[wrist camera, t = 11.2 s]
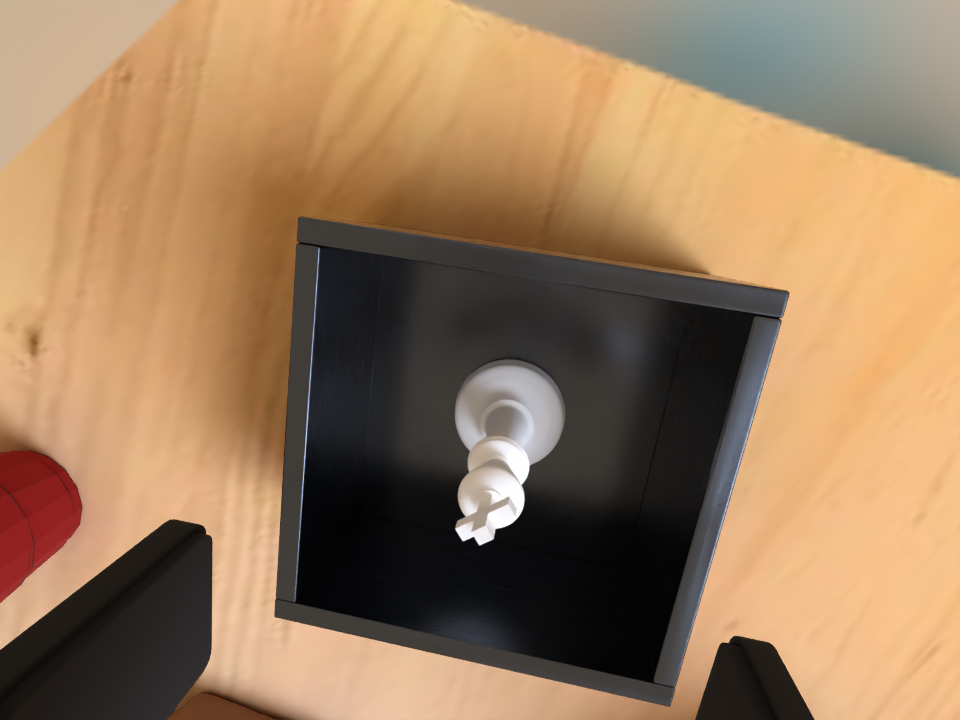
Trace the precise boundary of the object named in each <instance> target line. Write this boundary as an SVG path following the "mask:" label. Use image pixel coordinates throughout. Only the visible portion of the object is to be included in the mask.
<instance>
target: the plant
mask: <svg viewBox="0 0 960 720" xmlns="http://www.w3.org/2000/svg"><path fill="white" fill-rule="evenodd" d="M167 720H278V719H275V718H272V717H268V716H266V715H263V714H260V713H257V712H255V711H253V710H251V709H248V708H246V707H243V706H241V705H238V704H236V703H233V702H230V701H228V700H225V699H222V698H220V697H217V696H214V695H211V694H200V695H198V696H197V697H196V698H195V699H193V700H192V701H190V702H189V703H187V704H186V705H185V706H184V707H182V708H181V709H180V710H178V711H177V712H175V713H174V714H172V715H170V716H169V717H168V718H167Z"/></svg>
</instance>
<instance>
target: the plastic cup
mask: <svg viewBox="0 0 960 720" xmlns="http://www.w3.org/2000/svg"><path fill="white" fill-rule="evenodd" d="M81 512H82V504H81V501H80V497H79V493H78V490H77V487H76V486H75V484H74V483H73V481H72V480H71V478H70V477H69V475H68V474H67V472H66V471H65V470H64V469H63V468H61V467H60V466H59V465H58V464H56V463H55V462H54V461H53V460H51V459H50V458H49V457H46V456H44V455H41V454H38V453H36V452H33V451H11V452H0V603H1V602H2V601H3V600H4V599H5V598H7V597H8V596H9V595H10V594H11V593H12V592H14V591H15V590H16V589H17V588H18V587H19V586H20V585H21V584H22V583H23V581H24V580H25V578H27V577H28V576H29V575H30V574H31V573H32V572H34V571H35V570H36V569H37V568H38V567H40V566H41V565H42V564H43V563H44V562H45V561H47V560H48V559H49V558H50V557H51V556H52V555H54V554H55V553H56V552H57V551H58V550H59V549H61V548H62V547H63V546H64V544H65V543H66V541H67V540H68V539H69V538H70V537H71V536H72V535H73V533H74V532H75V531H76V529H77V528H78V526H79V525H80V520H81Z"/></svg>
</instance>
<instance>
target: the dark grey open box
mask: <svg viewBox="0 0 960 720" xmlns="http://www.w3.org/2000/svg"><path fill="white" fill-rule="evenodd" d="M297 241H298V242H299V243H297V245H296V261H295V279H294V296H293V313H292V330H291V347H290V364H289V381H288V398H287V415H286V433H285V450H284V467H283V484H282V501H281V518H280V535H279V552H278V570H277V587H276V599H275V615H274V616H275V617H277V618H281V619H286V620H290V621H294V622H299V623H303V624H308V625H312V626H316V627H321V628H325V629H330V630H334V631H338V632H343V633H347V634H352V635H356V636H360V637H365V638H369V639H374V640H378V641H382V642H387V643H391V644H396V645H400V646H404V647H409V648H413V649H418V650H422V651H426V652H431V653H435V654H440V655H444V656H448V657H453V658H457V659H462V660H466V661H470V662H475V663H479V664H484V665H488V666H492V667H497V668H501V669H506V670H510V671H514V672H519V673H523V674H528V675H532V676H536V677H541V678H545V679H550V680H554V681H559V682H563V683H567V684H572V685H576V686H581V687H585V688H589V689H594V690H598V691H603V692H607V693H611V694H616V695H620V696H625V697H629V698H633V699H638V700H642V701H647V702H651V703H655V704H660V705H664V706H669V707H670V705H671V702H672V699H673V695H674V692H675V686H676V683H677V680H678V676H679V673H680V669H681V666H682V662H683V659H684V656H685V652H686V649H687V645H688V642H689V638H690V635H691V632H692V628H693V625H694V621H695V618H696V614H697V611H698V607H699V604H700V601H701V597H702V594H703V590H704V587H705V583H706V580H707V576H708V573H709V570H710V566H711V563H712V559H713V556H714V552H715V549H716V546H717V542H718V539H719V535H720V532H721V528H722V525H723V521H724V518H725V515H726V511H727V508H728V504H729V501H730V497H731V494H732V490H733V487H734V484H735V480H736V477H737V473H738V470H739V466H740V463H741V460H742V456H743V453H744V449H745V446H746V442H747V439H748V435H749V432H750V429H751V425H752V422H753V418H754V415H755V411H756V408H757V404H758V401H759V398H760V394H761V391H762V387H763V384H764V380H765V377H766V374H767V370H768V367H769V363H770V360H771V356H772V353H773V349H774V346H775V343H776V339H777V336H778V332H779V329H780V325H781V319H779V318H782V317H783V315H784V311H785V308H786V304H787V301H788V298H789V292H788V291H786V290H781V289H776V288H772V287H767V286H762V285H758V284H753V283H748V282H743V281H739V280H734V279H729V278H724V277H720V276H715V275H710V274H703V273H696V272H690V271H683V270H677V269H670V268H664V267H657V266H650V265H644V264H637V263H631V262H624V261H618V260H611V259H604V258H598V257H591V256H585V255H578V254H572V253H565V252H558V251H552V250H545V249H539V248H532V247H526V246H519V245H512V244H506V243H499V242H493V241H486V240H479V239H473V238H466V237H460V236H453V235H447V234H440V233H433V232H427V231H420V230H414V229H407V228H401V227H394V226H387V225H381V224H374V223H364V222H353V221H343V220H333V219H322V218H312V217H299V218H298V230H297ZM506 359H511V360H520V361H524V362H527V363H530V364H532V365H535V366H536V367H538V368H540V369H541V370H543V371H544V372H545V373H547V374H548V375H549V376H550V377H551V378H552V379H553V381H554V382H555V383H556V385H557V386H558V388H559V390H560V392H561V394H562V396H563V400H564V404H565V415H566V416H565V424H564V428H563V431H562V434H561V436H560V439H559V441H558V442H557V444H556V446H555V447H554V448H553V450H552V451H551V452H550V453H549V454H548V455H547V456H545V457H544V458H543V459H541V460H540V461H538V462H536V463H534V464H532V465H529V473H528V476H527V478H526V480H525V481H524V483H523V484H522V488H523V491H524V498H525V500H524V507H523V510H522V512H521V514H520V515H519V517H518V518H517V519H516V520H515V521H514V522H513V523H511V524H510V525H508V526H505V527H502V528H498V529H495V535H494V539H493V540H491V541H489V542H486V543H484V544H482V545H480V546H479V544H478V543H477V541H476V539H475V538H474V537H472V538H470V539H467V540H465V541H462V539H461V538H460V536H459V534H458V533H457V531H456V530H455V527H456V524H457V521H458V520H460V519H462V518H464V517H466V516H465V515H464V514H463V512H462V510H461V508H460V506H459V502H458V489H459V486H460V484H461V482H462V480H463V478H464V477H465V476H466V475H467V474H468V473H469V470H468V456H469V453H470V451H469V450H468V449H467V447H466V446H465V445H464V443H463V442H462V440H461V438H460V436H459V434H458V431H457V428H456V424H455V404H456V399H457V395H458V392H459V390H460V388H461V386H462V384H463V383H464V381H465V380H466V379H467V378H468V377H469V375H470V374H472V373H473V372H474V371H475V370H476V369H478V368H480V367H481V366H483V365H485V364H487V363H490V362H493V361H498V360H506Z"/></svg>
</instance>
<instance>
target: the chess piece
mask: <svg viewBox="0 0 960 720" xmlns="http://www.w3.org/2000/svg"><path fill="white" fill-rule="evenodd" d="M565 416H566V415H565V404H564V400H563V396H562V394H561V392H560V390H559V388H558V386H557V385H556V383H555V382H554V381H553V379H552V378H551V377H550V376H549V375H548V374H547V373H545V372H544V371H543V370H541V369H540V368H538V367H536V366H535V365H532V364H530V363H527V362H524V361H520V360H511V359H506V360H498V361H493V362H490V363H487V364H485V365H483V366H481V367H480V368H478V369H476V370H475V371H474V372H473V373H472V374H470V375H469V377H468V378H467V379H466V380H465V381H464V383H463V384H462V386H461V388H460V390H459V392H458V395H457V399H456V404H455V424H456V428H457V431H458V434H459V436H460V438H461V440H462V442H463V443H464V445H465V446H466V447H467V449H468V450H469V451H470V453H469V456H468V470H469V473H468V474H467V475H466V476H465V477H464V478H463V480H462V482H461V484H460V486H459V489H458V502H459V506H460V508H461V510H462V512H463V514H464V515H465V516H466V517H464V518H462V519H460V520H458V521H457V524H456V527H455V530H456V531H457V533H458V534H459V536H460V538H461V539H462V541H465V540H467V539H470V538H472V537H474V538H475V539H476V541H477V543H478V544H479V546H480V545H482V544H484V543H486V542H489V541H491V540H493V539H494V535H495V529H498V528H502V527H505V526H508V525H510V524H511V523H513V522H514V521H515V520H516V519H517V518H518V517H519V515H520V514H521V512H522V510H523V507H524V500H525V498H524V491H523V488H522V484H523V483H524V481H525V480H526V478H527V476H528V473H529V465H532V464H534V463H536V462H538V461H540V460H541V459H543V458H544V457H545V456H547V455H548V454H549V453H550V452H551V451H552V450H553V448H554V447H555V446H556V444H557V442H558V441H559V439H560V436H561V434H562V431H563V428H564V424H565Z"/></svg>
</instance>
